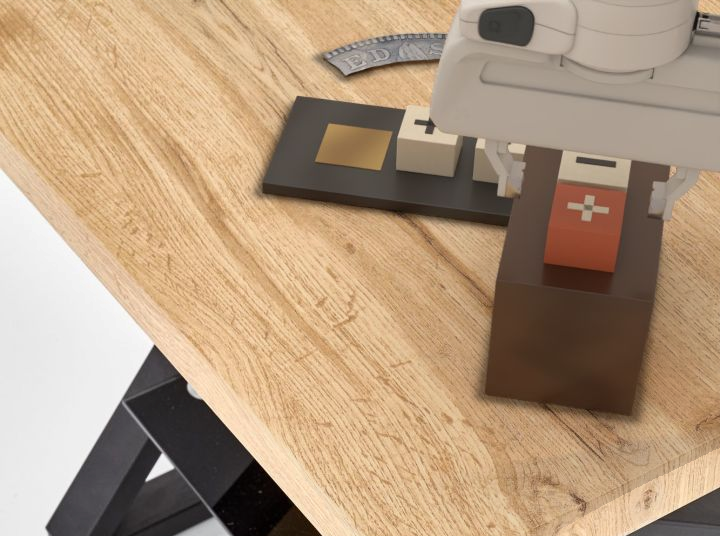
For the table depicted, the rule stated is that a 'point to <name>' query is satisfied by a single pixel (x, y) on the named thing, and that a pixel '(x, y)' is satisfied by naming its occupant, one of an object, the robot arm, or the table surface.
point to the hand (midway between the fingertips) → (584, 203)
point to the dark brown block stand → (573, 301)
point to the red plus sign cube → (585, 227)
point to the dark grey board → (372, 165)
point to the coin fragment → (387, 50)
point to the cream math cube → (426, 145)
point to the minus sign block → (484, 166)
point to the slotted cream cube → (594, 171)
